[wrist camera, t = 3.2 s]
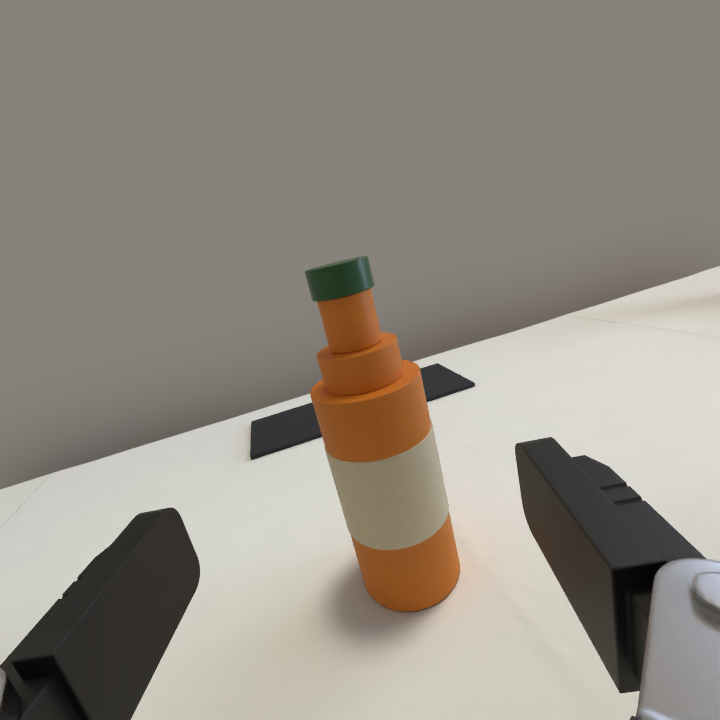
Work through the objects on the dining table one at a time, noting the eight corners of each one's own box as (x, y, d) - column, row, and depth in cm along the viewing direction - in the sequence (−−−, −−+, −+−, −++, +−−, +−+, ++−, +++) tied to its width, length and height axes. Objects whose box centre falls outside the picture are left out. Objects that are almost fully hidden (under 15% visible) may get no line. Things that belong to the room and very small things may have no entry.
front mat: (438, 365, 56) (437, 363, 56) (475, 385, 46) (474, 382, 46) (252, 424, 51) (251, 421, 51) (251, 459, 42) (250, 456, 42)
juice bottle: (450, 526, 26) (393, 247, 21) (471, 603, 20) (401, 250, 16) (364, 541, 26) (289, 272, 22) (362, 620, 21) (261, 284, 16)
